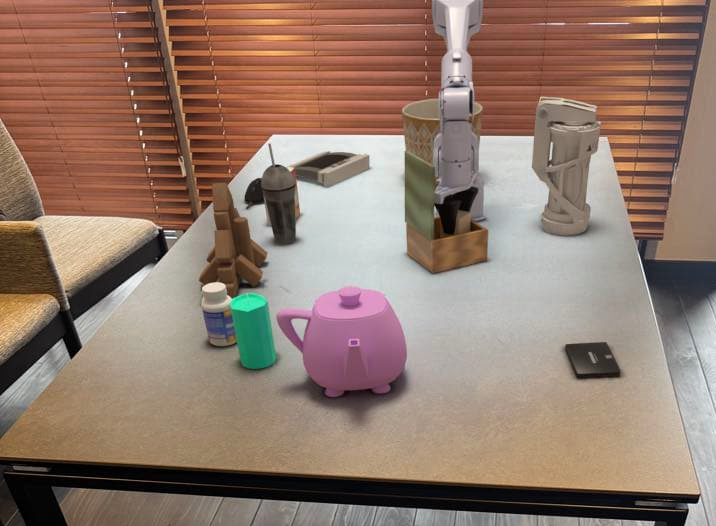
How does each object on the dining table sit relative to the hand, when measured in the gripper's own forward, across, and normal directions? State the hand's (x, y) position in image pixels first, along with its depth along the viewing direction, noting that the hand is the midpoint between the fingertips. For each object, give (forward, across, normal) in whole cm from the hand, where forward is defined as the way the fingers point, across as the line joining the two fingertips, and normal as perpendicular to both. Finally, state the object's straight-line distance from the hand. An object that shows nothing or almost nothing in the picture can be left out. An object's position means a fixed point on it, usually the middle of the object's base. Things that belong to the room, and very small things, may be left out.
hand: (455, 229), depth 160 cm
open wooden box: (+5, +2, -1) cm, 6 cm away
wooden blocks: (+6, +30, -34) cm, 46 cm away
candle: (+6, +54, -7) cm, 55 cm away
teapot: (+6, +53, +11) cm, 55 cm away
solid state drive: (+5, +27, +42) cm, 50 cm away
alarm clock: (+6, -31, -57) cm, 65 cm away
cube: (+1, 0, 0) cm, 1 cm away
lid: (-8, +7, -4) cm, 11 cm away
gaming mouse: (+6, -8, -60) cm, 61 cm away
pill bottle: (+6, +52, -17) cm, 55 cm away
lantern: (+6, -24, +12) cm, 28 cm away
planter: (+6, -39, -27) cm, 48 cm away
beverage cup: (+6, +11, -37) cm, 39 cm away
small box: (+6, +1, -45) cm, 45 cm away
